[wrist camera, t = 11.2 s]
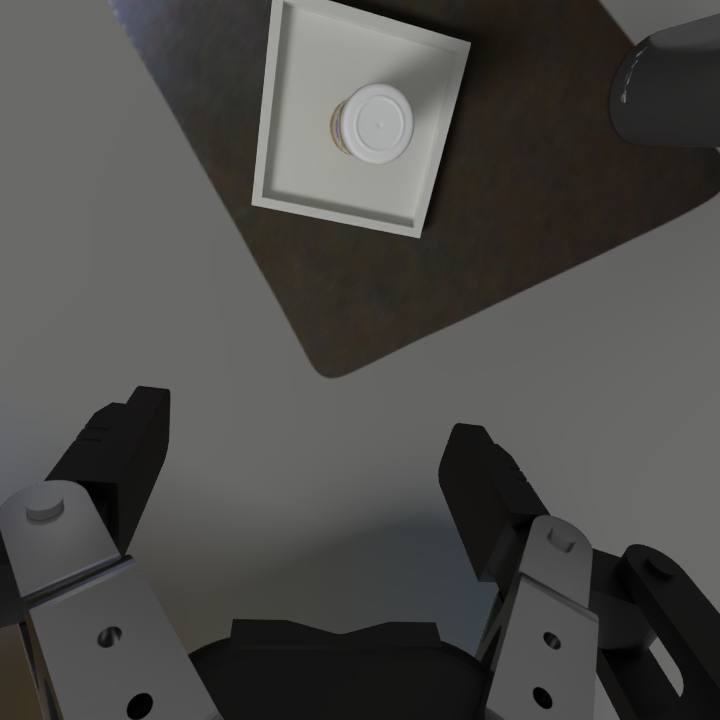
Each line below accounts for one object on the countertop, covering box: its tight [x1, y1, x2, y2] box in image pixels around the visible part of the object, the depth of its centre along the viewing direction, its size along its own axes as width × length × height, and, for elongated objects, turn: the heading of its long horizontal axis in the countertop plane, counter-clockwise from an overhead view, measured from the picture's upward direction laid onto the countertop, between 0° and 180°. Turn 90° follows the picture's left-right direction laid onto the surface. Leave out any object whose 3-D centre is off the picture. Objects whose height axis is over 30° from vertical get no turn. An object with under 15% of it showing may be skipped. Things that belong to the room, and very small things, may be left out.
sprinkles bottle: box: [330, 82, 415, 165], centre depth 33 cm, size 5×4×13 cm
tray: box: [252, 0, 471, 238], centre depth 39 cm, size 16×16×2 cm
